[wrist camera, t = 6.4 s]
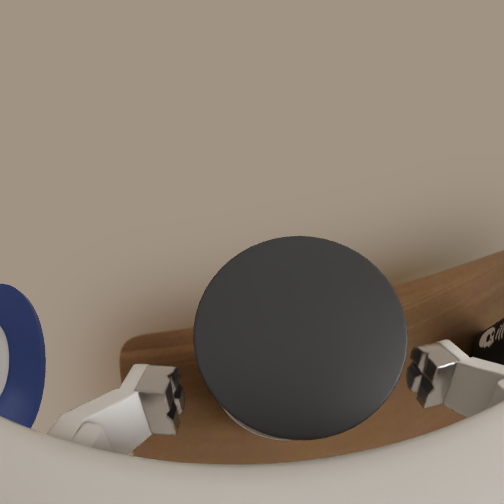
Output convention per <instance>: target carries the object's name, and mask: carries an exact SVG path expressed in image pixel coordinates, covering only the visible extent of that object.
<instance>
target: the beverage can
mask: <svg viewBox="0 0 504 504" xmlns="http://www.w3.org/2000/svg"><path fill="white" fill-rule="evenodd" d="M472 357H475V358H478V359H482V360H486V361H489V362H493V363H497V364H501V365H504V318H503V319H501V320H500V321H499V322H497V323H496V324H494V325H493V326H491V327H489V328H488V329H486V330H485V331H483V332H482V333H480V334H479V336H478V337H477V339H476V340H475V343H474V347H473V355H472Z"/></svg>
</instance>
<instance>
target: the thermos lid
mask: <svg viewBox="0 0 504 504" xmlns="http://www.w3.org/2000/svg"><path fill="white" fill-rule="evenodd" d="M407 336H408V334H407V325H406V319H405V315H404V311H403V308H402V305H401V303H400V300H399V298H398V296H397V294H396V292H395V290H394V289H393V287H392V285H391V284H390V283H389V281H388V280H387V278H386V277H385V276H384V275H383V274H382V272H381V271H380V270H379V269H378V268H377V267H376V266H375V265H374V264H372V263H371V262H370V261H369V260H368V259H366V258H365V257H364V256H362V255H360V254H359V253H357V252H356V251H354V250H352V249H350V248H348V247H346V246H344V245H341V244H338V243H336V242H333V241H329V240H326V239H321V238H316V237H306V236H291V237H282V238H276V239H272V240H268V241H265V242H262V243H259V244H257V245H254V246H252V247H250V248H248V249H246V250H244V251H243V252H241V253H239V254H238V255H237V256H235V257H234V258H232V259H231V260H230V261H229V262H228V263H227V264H225V265H224V266H223V267H222V268H221V269H220V270H219V271H218V273H217V274H216V275H215V276H214V277H213V279H212V280H211V282H210V283H209V285H208V287H207V288H206V290H205V291H204V294H203V296H202V298H201V300H200V302H199V306H198V309H197V312H196V316H195V322H194V332H193V343H194V351H195V357H196V361H197V365H198V368H199V371H200V373H201V376H202V378H203V380H204V382H205V384H206V386H207V387H208V389H209V391H210V392H211V394H212V395H213V397H214V398H215V399H216V400H217V401H218V403H219V404H220V405H221V406H222V407H223V408H224V409H225V410H226V411H227V412H228V413H229V414H231V415H232V416H233V417H234V418H235V419H237V420H238V421H240V422H241V423H243V424H245V425H246V426H248V427H250V428H252V429H254V430H256V431H258V432H261V433H263V434H266V435H270V436H273V437H276V438H282V439H289V440H315V439H322V438H327V437H330V436H334V435H337V434H340V433H343V432H345V431H347V430H349V429H351V428H354V427H355V426H357V425H359V424H360V423H362V422H363V421H365V420H366V419H368V418H369V417H370V416H371V415H372V414H373V413H375V412H376V411H377V410H378V409H379V408H380V407H381V406H382V404H383V403H384V402H385V401H386V400H387V399H388V397H389V396H390V394H391V393H392V391H393V389H394V388H395V386H396V384H397V382H398V380H399V378H400V375H401V373H402V370H403V366H404V363H405V359H406V352H407Z"/></svg>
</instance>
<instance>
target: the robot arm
mask: <svg viewBox="0 0 504 504" xmlns="http://www.w3.org/2000/svg"><path fill="white" fill-rule="evenodd" d="M410 359H411V360H412V363H411V364H410V366H409V367H408V368H407V373H406V381H407V385H408V387H409V389H410V390H411V391H412V392H414V393H416V394H417V398H416V399H417V400H418V401H419V403H420V404H421V405H422V407H423V408H424V409H426V408H430V407H433V406H437V405H440V404H443V405H444V406H446V407H448V408H450V409H452V410H454V411H455V412H457V413H459V414H461V415H463V416H465V417H467V418H466V419H464V420H461V421H459V422H456V423H454V424H451V425H449V426H446V427H443V428H441V429H438V430H435V431H432V432H429V433H426V434H423V435H420V436H417V437H414V438H411V439H407V440H404V441H400V442H397V443H393V444H389V445H386V446H382V447H378V448H373V449H369V450H365V451H360V452H355V453H350V454H345V455H339V456H333V457H327V458H320V459H313V460H304V461H295V462H284V463H270V464H240V465H229V464H199V463H184V462H173V461H164V460H156V459H148V458H142V457H135V456H129V455H128V454H129V453H130V452H132V451H133V450H134V449H135V448H136V447H138V446H139V445H140V444H141V443H142V442H144V441H145V440H146V439H147V438H148V437H150V436H151V435H152V434H151V433H153V434H166V435H177V432H178V428H179V425H180V419H179V415H180V414H182V413H183V410H184V401H185V398H184V390H183V387H182V386H181V385H180V384H179V381H180V378H181V375H180V371H179V368H178V367H177V366H165V365H149V364H134V365H133V366H132V368H131V370H130V371H129V373H128V374H127V376H126V378H125V379H124V381H123V383H122V384H121V386H120V387H119V389H113V390H111V391H110V392H107V393H105V394H104V395H101V396H99V397H97V398H95V399H93V400H91V401H89V402H87V403H84V404H82V405H80V406H78V407H76V408H74V409H72V410H70V411H67V412H65V413H63V414H61V415H60V416H59V418H58V419H57V420H56V422H55V423H54V425H53V426H52V427H51V429H50V430H49V432H48V433H47V434H44V433H41V432H39V431H36V430H33V429H31V428H28V427H25V426H23V425H20V424H18V423H15V422H13V421H11V420H8V419H6V418H4V417H2V416H0V504H504V365H501V364H497V363H493V362H489V361H486V360H482V359H478V358H475V357H471V358H470V357H469V356H467V355H466V354H465V353H464V352H463V351H462V350H460V349H459V348H458V347H457V346H456V345H455V344H453V343H452V342H451V341H450V340H446V339H445V340H442V341H438V342H435V343H431V344H427V345H423V346H418V347H414V348H413V350H412V351H411V355H410ZM8 370H9V348H8V342H7V338H6V335H5V333H4V331H3V329H2V327H1V326H0V396H1V394H2V392H3V390H4V387H5V384H6V381H7V376H8Z"/></svg>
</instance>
